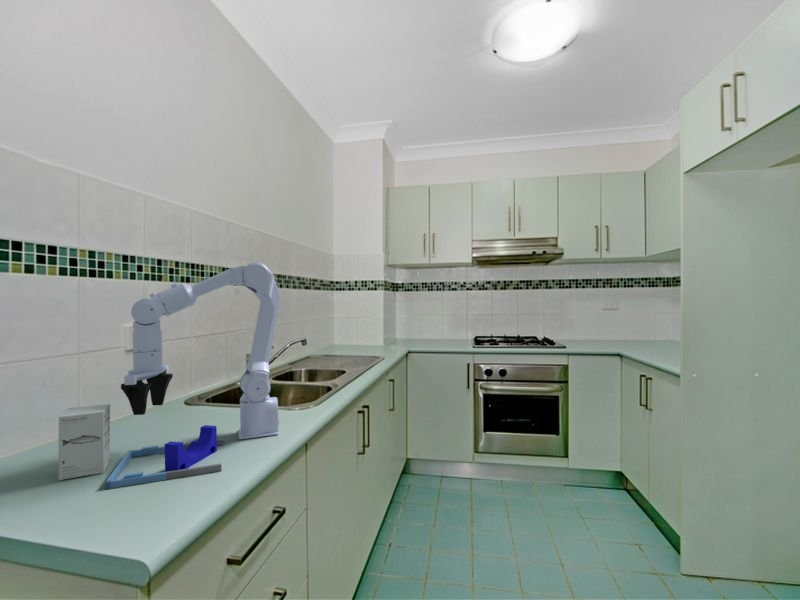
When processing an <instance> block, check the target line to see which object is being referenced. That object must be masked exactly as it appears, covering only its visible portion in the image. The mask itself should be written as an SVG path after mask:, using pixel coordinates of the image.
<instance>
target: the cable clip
mask: <svg viewBox="0 0 800 600" xmlns="http://www.w3.org/2000/svg"><path fill="white" fill-rule="evenodd" d="M217 435H218V434H217V425H207V424H205V425H202V426H200V430H199V436H198V438H195V439H194V440H192V441H191V442H189V443H190V445H189V447H188V448H187V449H186V450H184V447H183V444H184V442H183V441H168V442H166V443H164V446H165V453H164V472H168V471H175V470H182V469H188V468H192V467H193V466H194V465H196V464H198V463H199V462H201V461H203V460H204V459H206V458H208V457H210V456H212V455H213V454H214V453H216V452H217V451H218V445H217V439H218V436H217Z"/></svg>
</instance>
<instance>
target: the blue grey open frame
mask: <svg viewBox="0 0 800 600" xmlns="http://www.w3.org/2000/svg"><path fill="white" fill-rule="evenodd" d="M190 443H191V442H186V443H183V447H184V450H186V449H187V448H188V447H189V445H190ZM222 445H223V446H224V445H225V438H217V446H222ZM162 453H163V454H165V445H163V446H159V445H151V446H150V445H149V446H143V447H142V448H141V449H132V450H128V451H127V452H126V453H125V455H124V456H123V458H122V459H121V460H120V461H119V462H118V464H117V466H116V467H115V468H114V469H113V471H112V473H111V474H110V475H109V476H108V478H107V479H106V480H105V482H104V489H105V490H107V489H108V490H110V489H114V488H120V487H121V488H122V487H127V486H133V485H134V486H135V485H140V484H146V483H151V482H153V483H154V482H159V481H165V480H172V479H177V478H178V479H179V478H185V477H191V476H196V475H197V476H198V475H204V474H209V473H210V474H211V473H216V472H222V463H217V464H216V463H215V464H210V465H203V466H196V467H189V468H187V469H182V470H175V471H168V472H165V471H162V472H157V473H150V474H144V471H138V472H137V471H136V472H130V473H125V474H124V475H123V478H122V477H121V478H119V476H120V475H121V474H122V472H123V471H124V469H125V467H127V465H128V463H129V462H130V460H131V459H132V458H133V457H141V456H148V455H156V454H162Z"/></svg>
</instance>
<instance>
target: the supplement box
mask: <svg viewBox="0 0 800 600" xmlns="http://www.w3.org/2000/svg"><path fill="white" fill-rule="evenodd" d="M110 449H111V404H110V403H108V404H98V405H87V406H86V405H85V406H77V407H68V408H66V409H65V410H64V411H63V412H62V413H61V414H60V415H59V416H58V481H63V480H67V479H74V478H79V477H86V476H92V475H99V474H101V475H102V474H104V473H105V470H106V469H107V468H108V465H109V463H110V459H111V456H110V455H111V450H110Z"/></svg>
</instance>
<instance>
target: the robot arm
mask: <svg viewBox="0 0 800 600" xmlns="http://www.w3.org/2000/svg"><path fill="white" fill-rule="evenodd" d="M229 285H230V286H241V285H242V286H244V287H245V288H247V289H248V290H250V291H252V293H253V294H254V295H255V296H256V297H257V300H259V301H260V304H259V309H258V314H257V319H256V325H255V329H254V335H253V340H252V345H251V351H250V356H249V359H248V362H247V365H246V368H245V371H244V373H243V375H241V377H240V379H239V387H240V390H241V391H242V392H243V393H242V394H241V397H240V398H239V417H240V418H239V428H238V440H246V439H254V438H255V439H256V438H260V437H261V438H262V437H269V436H276V435H279V425H280V419H279V401H278V397H276V396H272V397H271V396H270V392H271V382H270V379H269V378H270V365H269V364H270V360H271V359H270V357H271V353H272V348H273V343H274V337H275V332H276V327H277V322H278V317H279V311H280V305H281V302H282V295H281V292H280V290H279V288H278V285H277V283H276V280H275V276H274V273H273V272H272V271H271V270H270V268H269V267H268V266H267V265H265V264H264V263H262V262H260V261H259V262H258V261H255V262H254V261H253V262H251V263H248V264H246V265H240V266H236V267H232V268H228V269H226V270H223V271H222V272H220V273H217V274H215V275H213V276H210V277H208V278H205V279H204V280H201V281H199V282H197V283H195V284H193V285H188V284H186V283H179V284H177V283H173V284H171V285H170V288H168V289H164V290H162V291H160V292H157V293H155V292H152V293H150V294H149V298H148V297H144V298H141V299H140V300H137V301H136V302H134V303H133V305H132V307H131V310H130V311H131V312H130V314H131V317H132V318H133V320H134V321H133V323H132V328H133V331H132V363H133V364H132V367H133V369H130V370H128V371H127V372H128V373H127V374H126V375H124V376H123V378H124V379H123V380H124V383H121V384H120V389H121V390H122V392H123V393H124V395H125V396H126V398H127V400H128V402H129V405H130V407H131V411H132V413H133V415H134V416H139V415H140V416H141V415H143V416H144V415H145V414H146V411H147V402H148V395H149V392H150V400H151V404H152V406H162V405H164V402H165V397H166V394H167V389H168V387H169V385H170V382H171V381H172V379H173V377H174V376H173V373H169V370H170V369H169V367H170V365H169V364H163V330H162V329H161V320H160V319H161V318H162V316H166V317H170V316H172V315H174V314H177V313H178V312H181V311H183V310H185V309H188V308H190V307H192V306H194V305H195V303H196V301H197V299H198V297H201V296H204V295H205V294H209V293H210V292H211V293H212V292H213V291H215V290H219V289H220V288H221V289H222V288H224V287H227V286H229ZM145 380H146V383H145V382H144V381H145Z"/></svg>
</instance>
